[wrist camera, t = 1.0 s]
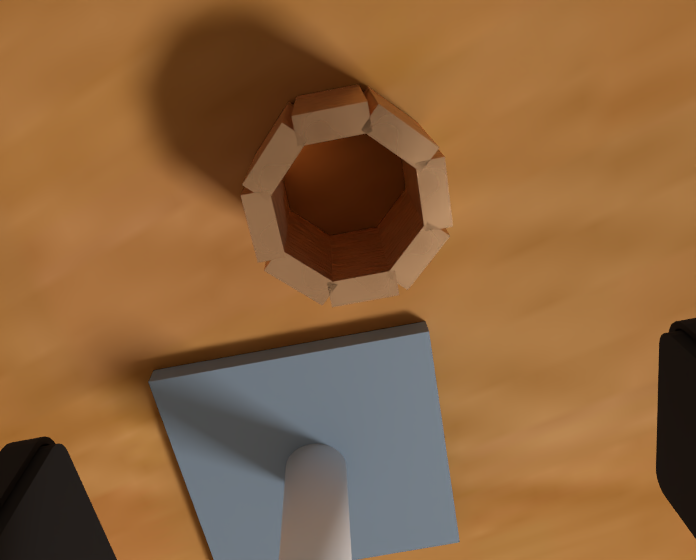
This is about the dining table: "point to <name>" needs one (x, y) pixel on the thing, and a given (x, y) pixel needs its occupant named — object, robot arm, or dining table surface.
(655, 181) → the dining table surface
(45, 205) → the dining table surface
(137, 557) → the dining table surface
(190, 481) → the piston stand
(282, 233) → the ring
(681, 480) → the robot arm
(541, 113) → the dining table surface
